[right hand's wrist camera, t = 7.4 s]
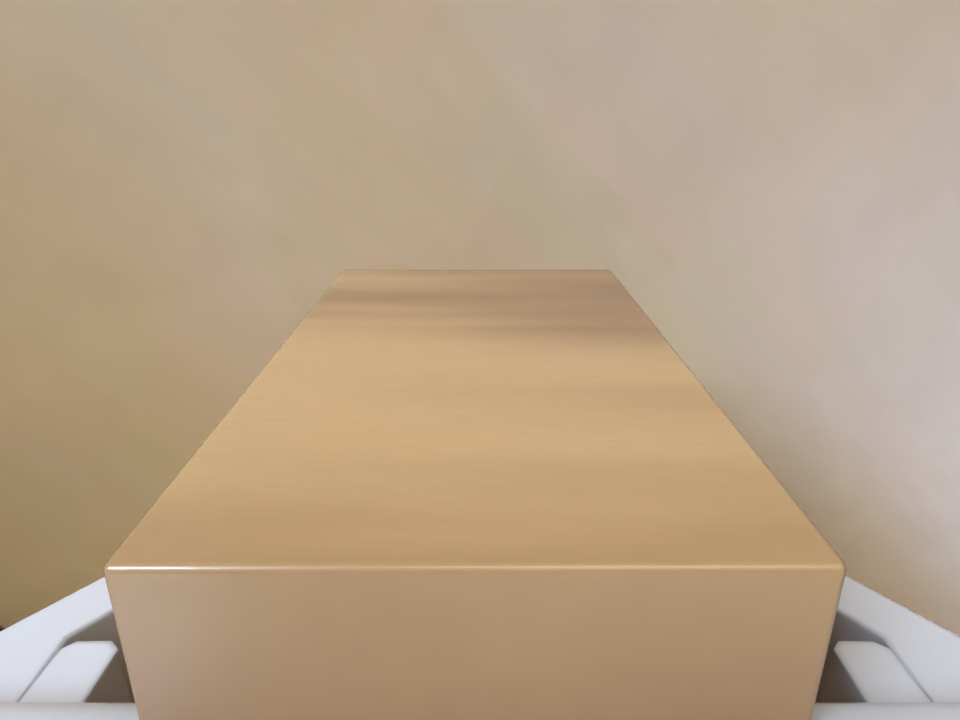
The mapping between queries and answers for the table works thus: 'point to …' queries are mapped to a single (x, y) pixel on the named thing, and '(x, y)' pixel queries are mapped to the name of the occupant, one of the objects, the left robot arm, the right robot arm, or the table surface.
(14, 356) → the table surface
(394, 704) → the bar
